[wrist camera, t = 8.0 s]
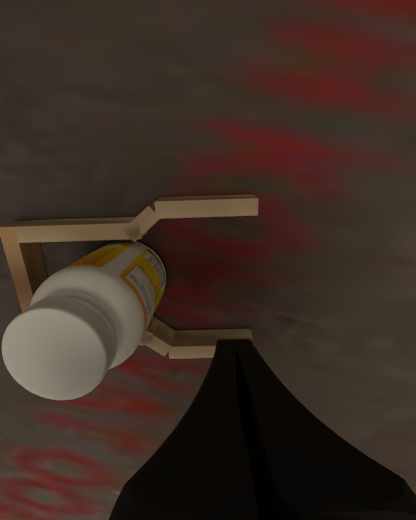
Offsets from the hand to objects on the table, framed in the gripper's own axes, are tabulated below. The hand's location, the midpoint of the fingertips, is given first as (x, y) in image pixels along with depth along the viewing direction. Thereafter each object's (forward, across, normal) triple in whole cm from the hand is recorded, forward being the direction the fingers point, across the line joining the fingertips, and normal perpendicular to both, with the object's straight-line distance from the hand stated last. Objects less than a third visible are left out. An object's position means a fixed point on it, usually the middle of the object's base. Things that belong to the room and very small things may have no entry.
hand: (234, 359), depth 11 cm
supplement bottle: (+9, +7, 0) cm, 11 cm away
